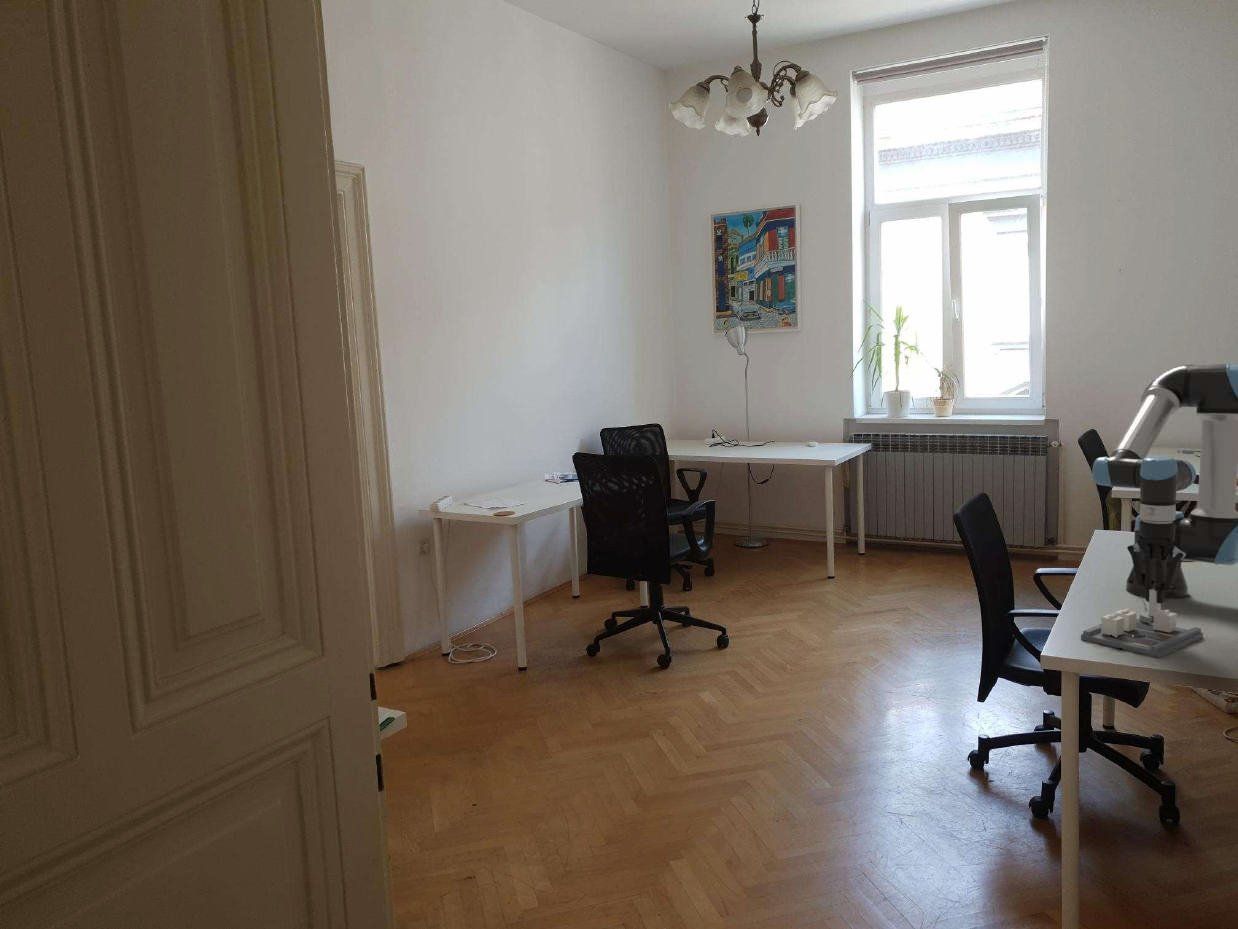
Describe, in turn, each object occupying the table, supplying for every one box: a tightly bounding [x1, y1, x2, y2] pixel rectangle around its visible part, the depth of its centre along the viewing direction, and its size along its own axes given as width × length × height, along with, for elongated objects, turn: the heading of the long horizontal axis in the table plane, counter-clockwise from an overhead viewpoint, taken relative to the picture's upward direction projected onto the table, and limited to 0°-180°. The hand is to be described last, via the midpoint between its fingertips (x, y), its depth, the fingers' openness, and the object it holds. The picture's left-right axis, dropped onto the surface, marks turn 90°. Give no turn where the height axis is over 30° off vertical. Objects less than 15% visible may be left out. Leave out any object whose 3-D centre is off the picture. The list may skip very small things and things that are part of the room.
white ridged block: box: [1100, 613, 1124, 636], centre depth 216 cm, size 4×4×5 cm
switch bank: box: [1080, 618, 1204, 659], centre depth 217 cm, size 22×18×2 cm
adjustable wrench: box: [1138, 598, 1154, 623], centre depth 233 cm, size 25×6×2 cm, turn 148°
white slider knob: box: [1113, 608, 1137, 631], centre depth 219 cm, size 4×4×5 cm
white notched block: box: [1153, 609, 1178, 632], centre depth 217 cm, size 4×4×5 cm
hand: (1154, 614), depth 220 cm, fingers closed
